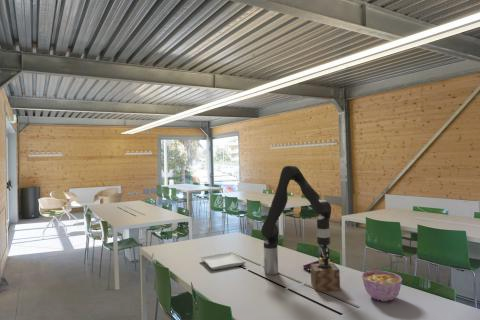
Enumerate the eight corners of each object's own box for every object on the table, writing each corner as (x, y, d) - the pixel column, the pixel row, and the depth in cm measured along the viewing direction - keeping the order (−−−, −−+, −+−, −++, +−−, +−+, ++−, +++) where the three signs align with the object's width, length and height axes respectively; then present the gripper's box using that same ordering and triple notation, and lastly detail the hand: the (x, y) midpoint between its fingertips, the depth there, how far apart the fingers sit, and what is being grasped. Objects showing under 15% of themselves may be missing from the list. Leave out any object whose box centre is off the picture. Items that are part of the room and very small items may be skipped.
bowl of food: (391, 289, 190) (390, 269, 189) (410, 305, 170) (409, 282, 169) (356, 291, 189) (356, 271, 189) (371, 307, 169) (371, 284, 169)
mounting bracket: (304, 278, 227) (323, 273, 214) (300, 266, 230) (318, 260, 217) (313, 275, 233) (332, 269, 220) (309, 263, 236) (327, 257, 223)
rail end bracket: (320, 276, 196) (319, 259, 196) (319, 274, 199) (318, 257, 199) (330, 275, 196) (329, 258, 195) (329, 274, 198) (328, 257, 198)
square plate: (211, 272, 230) (211, 267, 230) (199, 261, 255) (199, 256, 254) (247, 266, 241) (246, 260, 241) (232, 256, 266) (232, 251, 266)
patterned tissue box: (315, 291, 191) (315, 270, 191) (311, 283, 203) (310, 263, 203) (340, 290, 191) (339, 269, 191) (334, 282, 203) (333, 263, 203)
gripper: (314, 233, 204) (315, 259, 204) (320, 238, 190) (321, 267, 190) (326, 232, 204) (327, 259, 204) (333, 238, 190) (334, 266, 190)
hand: (324, 262), depth 197 cm, fingers open, 8 cm apart
